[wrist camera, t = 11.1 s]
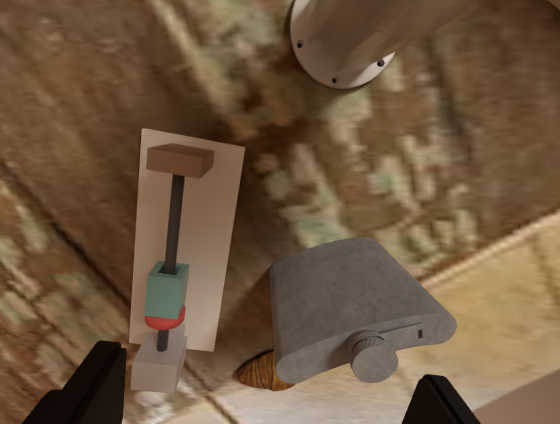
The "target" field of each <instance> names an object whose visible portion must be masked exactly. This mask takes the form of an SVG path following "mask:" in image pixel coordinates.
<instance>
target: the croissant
mask: <svg viewBox="0 0 560 424" xmlns="http://www.w3.org/2000/svg"><path fill="white" fill-rule="evenodd" d="M237 378H238V381H239V382H240V383H242V384H245V385H247V386H250V387H255V388H261V389H269V390H272V391H281V390H286V389H288V388H290V387H292V386H294V385H295V384H290V383H285V382H283V381H281V380H280V379H279V378H278V377H277V375H276V371H275V356H274V350H272V351H270V352H267V353H265V354H263V355H262V356H260V357H256V358H254V359H252V360H250V361H249V362H247V363H245V364H244V365H243V366H242V367H240V368H239V369H238V371H237Z"/></svg>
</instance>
